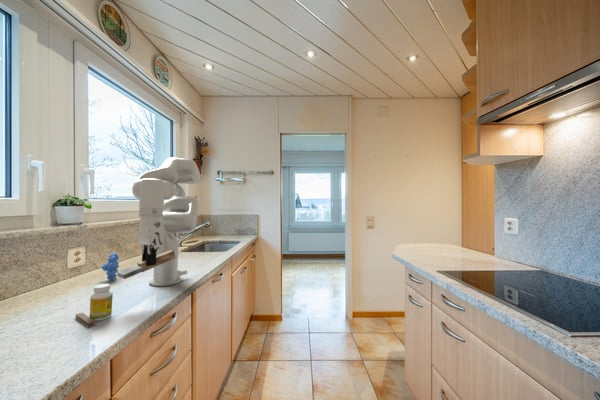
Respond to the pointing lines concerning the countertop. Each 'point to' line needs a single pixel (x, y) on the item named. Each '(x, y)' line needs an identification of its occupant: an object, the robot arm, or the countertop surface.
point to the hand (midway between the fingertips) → (148, 264)
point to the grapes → (111, 266)
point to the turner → (142, 265)
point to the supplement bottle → (101, 302)
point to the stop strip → (85, 320)
